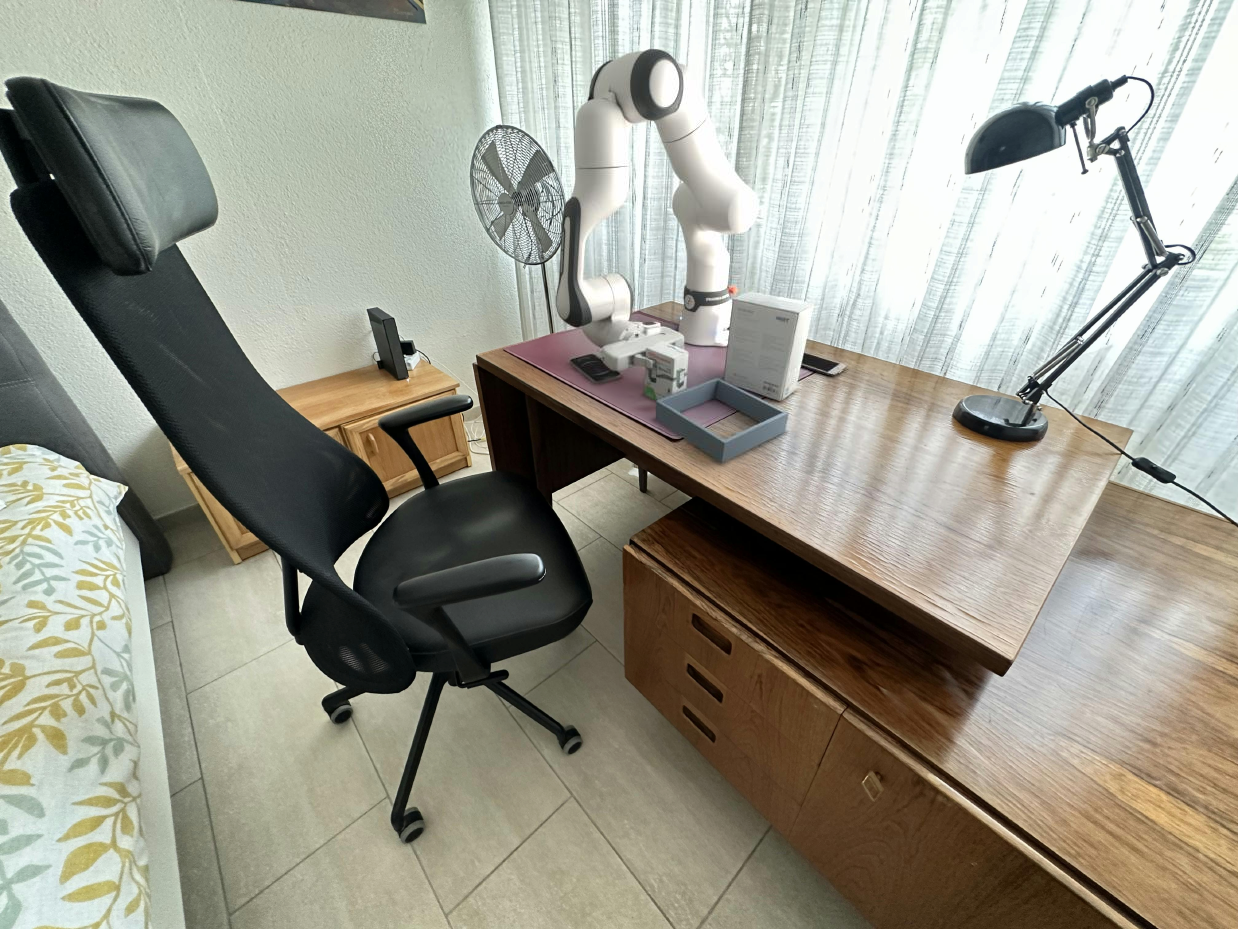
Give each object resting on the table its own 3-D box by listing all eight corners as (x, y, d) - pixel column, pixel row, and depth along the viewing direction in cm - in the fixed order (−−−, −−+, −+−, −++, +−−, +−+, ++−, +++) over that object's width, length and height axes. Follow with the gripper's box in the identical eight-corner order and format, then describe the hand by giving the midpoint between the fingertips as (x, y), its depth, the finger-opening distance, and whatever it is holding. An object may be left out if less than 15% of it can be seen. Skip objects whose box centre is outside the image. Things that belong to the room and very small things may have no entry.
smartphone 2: (833, 377, 114) (833, 374, 113) (778, 359, 123) (778, 356, 122) (847, 368, 118) (848, 365, 117) (793, 351, 127) (793, 348, 126)
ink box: (643, 395, 109) (644, 346, 102) (658, 388, 112) (660, 340, 105) (671, 408, 104) (674, 357, 97) (686, 400, 106) (689, 350, 99)
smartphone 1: (595, 382, 113) (568, 359, 123) (596, 385, 113) (568, 362, 124) (622, 374, 116) (593, 353, 126) (622, 377, 116) (593, 356, 127)
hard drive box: (796, 390, 109) (816, 303, 97) (780, 402, 105) (799, 313, 93) (738, 371, 118) (749, 289, 106) (721, 382, 113) (731, 297, 101)
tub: (715, 395, 108) (717, 377, 105) (784, 432, 95) (788, 412, 92) (655, 419, 100) (655, 400, 97) (721, 463, 87) (724, 442, 84)
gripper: (590, 339, 105) (626, 359, 96) (661, 319, 114) (701, 336, 105) (591, 365, 109) (626, 387, 99) (661, 344, 118) (698, 362, 109)
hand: (665, 360), depth 102 cm, fingers closed on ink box, 5 cm apart
